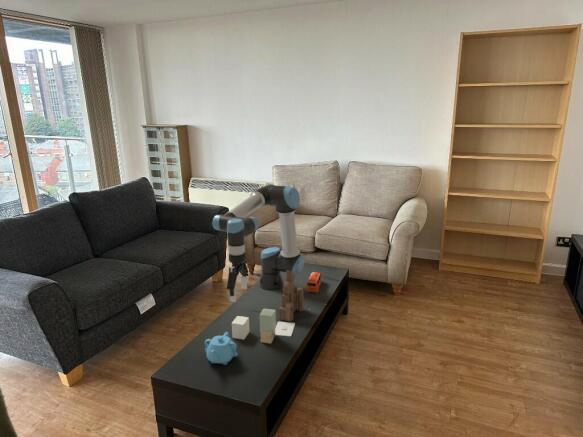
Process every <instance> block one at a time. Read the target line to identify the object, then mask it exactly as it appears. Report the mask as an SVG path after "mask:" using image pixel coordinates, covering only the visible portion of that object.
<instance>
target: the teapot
mask: <svg viewBox="0 0 583 437" xmlns="http://www.w3.org/2000/svg"><path fill="white" fill-rule="evenodd" d="M229 333H230V332H228V331H226V332H224V334H223V335H214V336H213V337H212V338H206V339H205V341H204V346H205V348H204V352H205V353H206V358H207V360H208V361H209V362H210V363H211V364H222V365H223V366H226V365H228V363H229V362H230V361H231V360H232V359H233V358H234V357H237V356H238V354H239V353H238V352H237V351H236V350H237V344H236V343H235V342H234V341H233V339H232V338H230V336H229V335H230V334H229ZM208 342H209V344H208Z"/></svg>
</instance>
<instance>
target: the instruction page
mask: <svg viewBox="0 0 583 437" xmlns="http://www.w3.org/2000/svg"><path fill="white" fill-rule="evenodd" d="M295 325H296V323H295V322H288V321H277V322H276V326H275V336H281V337H282V336H283V337H292V334H293V332H294V330H295Z"/></svg>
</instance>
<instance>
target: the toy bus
mask: <svg viewBox="0 0 583 437" xmlns="http://www.w3.org/2000/svg"><path fill="white" fill-rule="evenodd" d="M322 279H323V278H322V273H320V272H316V271H313V272H311V273H310V275H309V277H308V279H307V281H306V289H305V290H306V293H316V294H317V293H318V292H319V291H320V287H321V284H322V282H323V280H322ZM319 293H320V292H319Z"/></svg>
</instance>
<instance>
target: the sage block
mask: <svg viewBox="0 0 583 437" xmlns="http://www.w3.org/2000/svg"><path fill="white" fill-rule="evenodd" d="M276 312H277V311H276V309H272V308H271V309H270V308H263V309H262V310H261V311H260V313H259V331H261V330H264V331H273V329H274V327H275V328H276V325H277V321H276V320H277V318H276V317H277V314H276Z"/></svg>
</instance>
